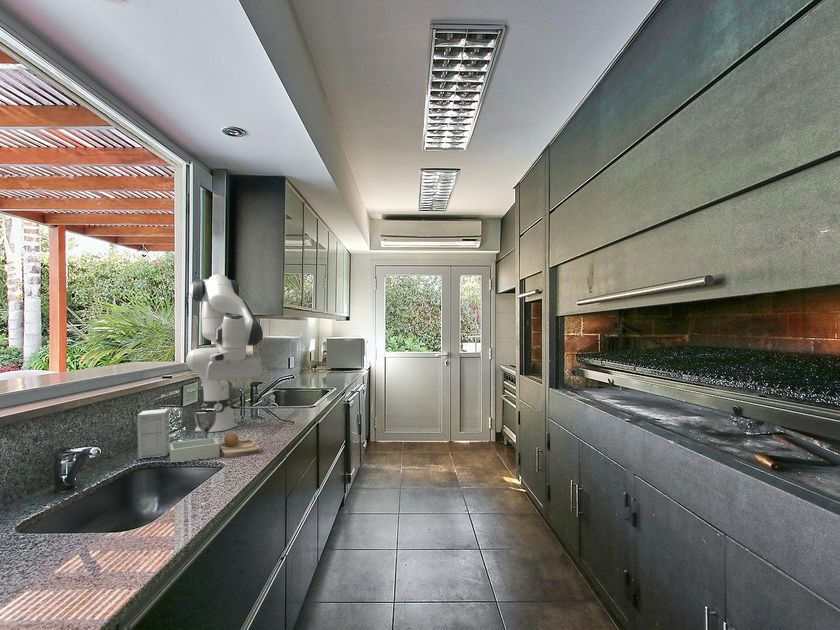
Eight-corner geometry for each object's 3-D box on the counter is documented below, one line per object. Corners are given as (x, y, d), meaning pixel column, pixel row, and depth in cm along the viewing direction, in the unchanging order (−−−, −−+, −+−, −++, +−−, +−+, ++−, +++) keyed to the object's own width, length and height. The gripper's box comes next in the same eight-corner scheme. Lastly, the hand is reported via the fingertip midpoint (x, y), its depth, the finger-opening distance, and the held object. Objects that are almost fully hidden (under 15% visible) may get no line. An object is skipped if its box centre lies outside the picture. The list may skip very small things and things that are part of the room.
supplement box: (170, 451, 182) (170, 408, 183) (166, 457, 174) (166, 412, 174) (142, 453, 179) (142, 410, 179) (137, 460, 170) (136, 414, 171)
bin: (169, 456, 174) (169, 443, 175) (215, 449, 183) (215, 437, 183) (170, 464, 164) (170, 450, 164) (219, 456, 172) (219, 443, 172)
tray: (218, 447, 186) (218, 443, 186) (252, 442, 192) (252, 439, 192) (224, 458, 170) (224, 454, 170) (261, 452, 177) (261, 448, 177)
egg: (243, 441, 184) (237, 437, 190) (235, 431, 182) (230, 428, 189) (232, 450, 181) (227, 446, 188) (224, 441, 180) (219, 437, 186)
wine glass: (190, 449, 184) (190, 411, 184) (208, 444, 191) (207, 408, 191) (203, 451, 180) (203, 413, 180) (221, 446, 187) (220, 409, 187)
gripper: (259, 353, 191) (260, 386, 191) (205, 355, 181) (206, 391, 181) (263, 354, 186) (263, 388, 186) (207, 357, 175) (207, 393, 175)
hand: (234, 389), depth 183 cm, fingers open, 8 cm apart
